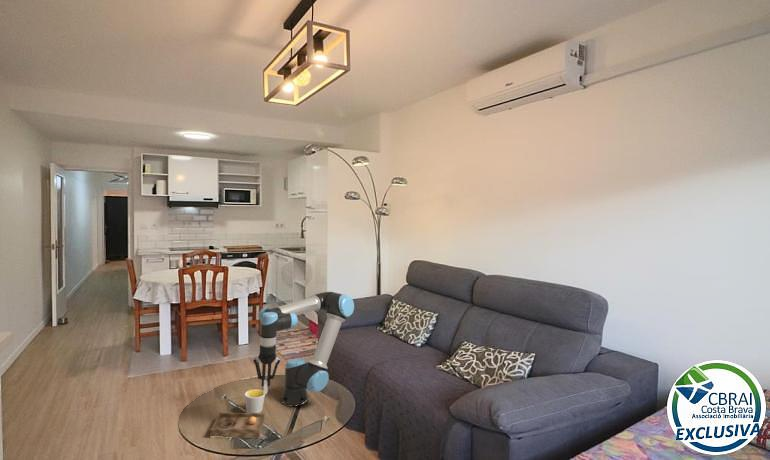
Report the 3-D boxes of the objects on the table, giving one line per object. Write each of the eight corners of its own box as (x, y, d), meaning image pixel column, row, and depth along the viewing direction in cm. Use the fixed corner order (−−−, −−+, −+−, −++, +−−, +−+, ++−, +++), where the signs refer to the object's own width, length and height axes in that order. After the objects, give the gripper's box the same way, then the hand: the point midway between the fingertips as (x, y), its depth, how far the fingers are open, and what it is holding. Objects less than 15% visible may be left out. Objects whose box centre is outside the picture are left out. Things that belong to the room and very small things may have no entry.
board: (264, 420, 212) (264, 413, 212) (258, 437, 196) (259, 429, 196) (219, 420, 209) (219, 413, 209) (209, 438, 194) (210, 429, 193)
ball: (256, 422, 206) (257, 415, 205) (255, 425, 202) (255, 418, 202) (249, 422, 205) (249, 415, 205) (247, 425, 202) (248, 418, 202)
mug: (259, 418, 214) (260, 398, 213) (240, 416, 215) (241, 396, 215) (270, 406, 227) (271, 387, 227) (252, 404, 229) (253, 385, 228)
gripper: (282, 342, 207) (280, 389, 208) (255, 342, 206) (253, 389, 207) (280, 347, 200) (278, 396, 201) (252, 347, 198) (250, 396, 199)
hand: (265, 392), depth 204 cm, fingers closed
